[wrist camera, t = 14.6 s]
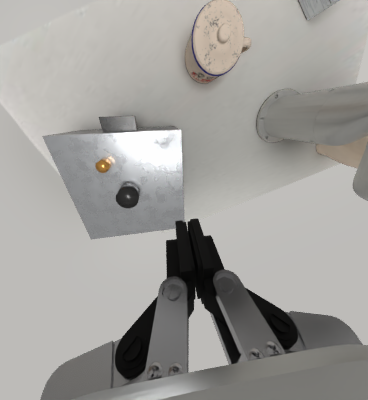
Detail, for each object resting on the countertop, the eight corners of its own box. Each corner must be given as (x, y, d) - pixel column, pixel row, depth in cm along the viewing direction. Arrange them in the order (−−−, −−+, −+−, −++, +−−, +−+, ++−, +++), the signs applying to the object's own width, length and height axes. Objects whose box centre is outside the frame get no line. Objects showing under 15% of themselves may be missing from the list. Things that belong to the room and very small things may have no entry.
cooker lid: (179, 129, 27) (183, 131, 23) (183, 223, 38) (186, 235, 34) (48, 135, 24) (27, 138, 20) (93, 234, 35) (85, 249, 31)
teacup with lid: (185, 87, 34) (198, 74, 24) (181, 30, 29) (193, -16, 19) (235, 81, 35) (266, 66, 25) (237, 25, 30) (278, -21, 20)
